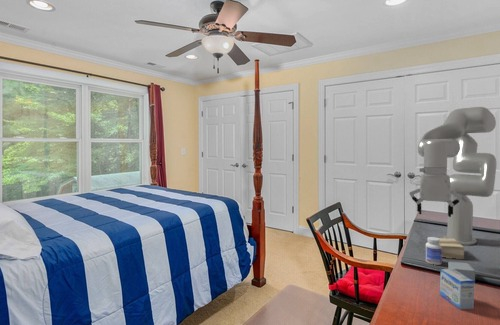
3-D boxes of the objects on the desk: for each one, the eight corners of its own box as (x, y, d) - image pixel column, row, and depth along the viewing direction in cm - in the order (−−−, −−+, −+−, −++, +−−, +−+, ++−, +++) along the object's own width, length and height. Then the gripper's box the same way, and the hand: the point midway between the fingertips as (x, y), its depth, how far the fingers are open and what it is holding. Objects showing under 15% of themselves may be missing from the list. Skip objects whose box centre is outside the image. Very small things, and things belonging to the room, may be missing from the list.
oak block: (427, 248, 126) (427, 237, 125) (453, 249, 123) (453, 238, 123) (435, 257, 116) (435, 245, 116) (463, 259, 113) (464, 247, 113)
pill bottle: (444, 265, 109) (444, 241, 108) (428, 265, 110) (429, 240, 109) (437, 259, 114) (438, 236, 113) (423, 259, 115) (423, 236, 114)
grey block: (448, 272, 104) (448, 261, 104) (467, 273, 102) (467, 263, 102) (454, 280, 98) (454, 268, 98) (474, 282, 96) (475, 270, 96)
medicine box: (439, 295, 89) (439, 269, 88) (452, 294, 89) (453, 267, 89) (460, 310, 81) (460, 281, 80) (474, 308, 81) (475, 280, 81)
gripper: (409, 172, 110) (408, 214, 112) (464, 173, 101) (463, 219, 103) (409, 170, 117) (409, 210, 118) (461, 171, 108) (460, 214, 109)
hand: (434, 214), depth 110 cm, fingers open, 9 cm apart
